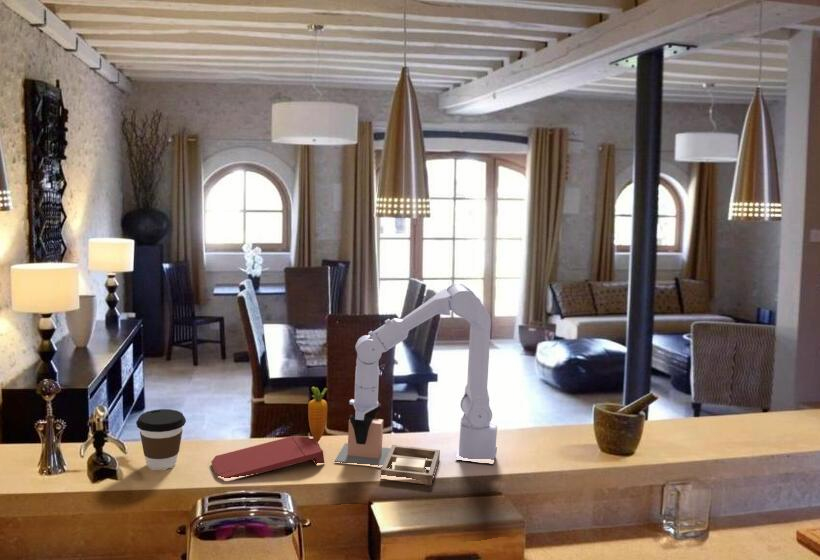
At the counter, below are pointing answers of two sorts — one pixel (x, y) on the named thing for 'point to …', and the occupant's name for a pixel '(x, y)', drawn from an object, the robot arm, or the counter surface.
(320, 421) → the carrot
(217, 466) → the reddish-brown flat block
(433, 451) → the tray
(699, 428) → the counter surface
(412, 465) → the offcut stack
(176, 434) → the coffee cup
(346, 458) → the mat
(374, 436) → the pink rectangular block
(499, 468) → the counter surface
